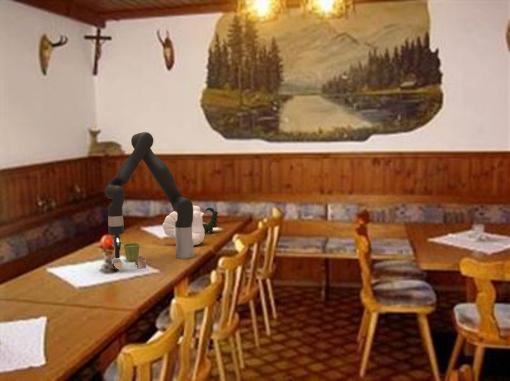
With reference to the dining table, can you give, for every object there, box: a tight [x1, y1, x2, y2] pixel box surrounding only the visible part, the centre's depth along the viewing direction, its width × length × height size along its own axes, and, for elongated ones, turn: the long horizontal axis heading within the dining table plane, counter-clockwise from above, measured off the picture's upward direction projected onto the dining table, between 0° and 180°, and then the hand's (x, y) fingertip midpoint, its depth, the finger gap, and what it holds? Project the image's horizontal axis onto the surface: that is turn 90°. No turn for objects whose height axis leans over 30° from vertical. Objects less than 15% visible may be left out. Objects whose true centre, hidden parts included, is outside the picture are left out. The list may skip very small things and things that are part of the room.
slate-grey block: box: [112, 257, 123, 271], centre depth 282 cm, size 4×4×10 cm
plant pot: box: [122, 242, 141, 262], centre depth 299 cm, size 9×9×9 cm
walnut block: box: [134, 255, 147, 269], centre depth 287 cm, size 4×4×10 cm
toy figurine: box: [202, 207, 219, 235], centre depth 373 cm, size 9×19×25 cm
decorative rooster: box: [162, 204, 206, 246], centre depth 336 cm, size 25×16×25 cm, turn 80°
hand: (117, 257), depth 280 cm, fingers closed
